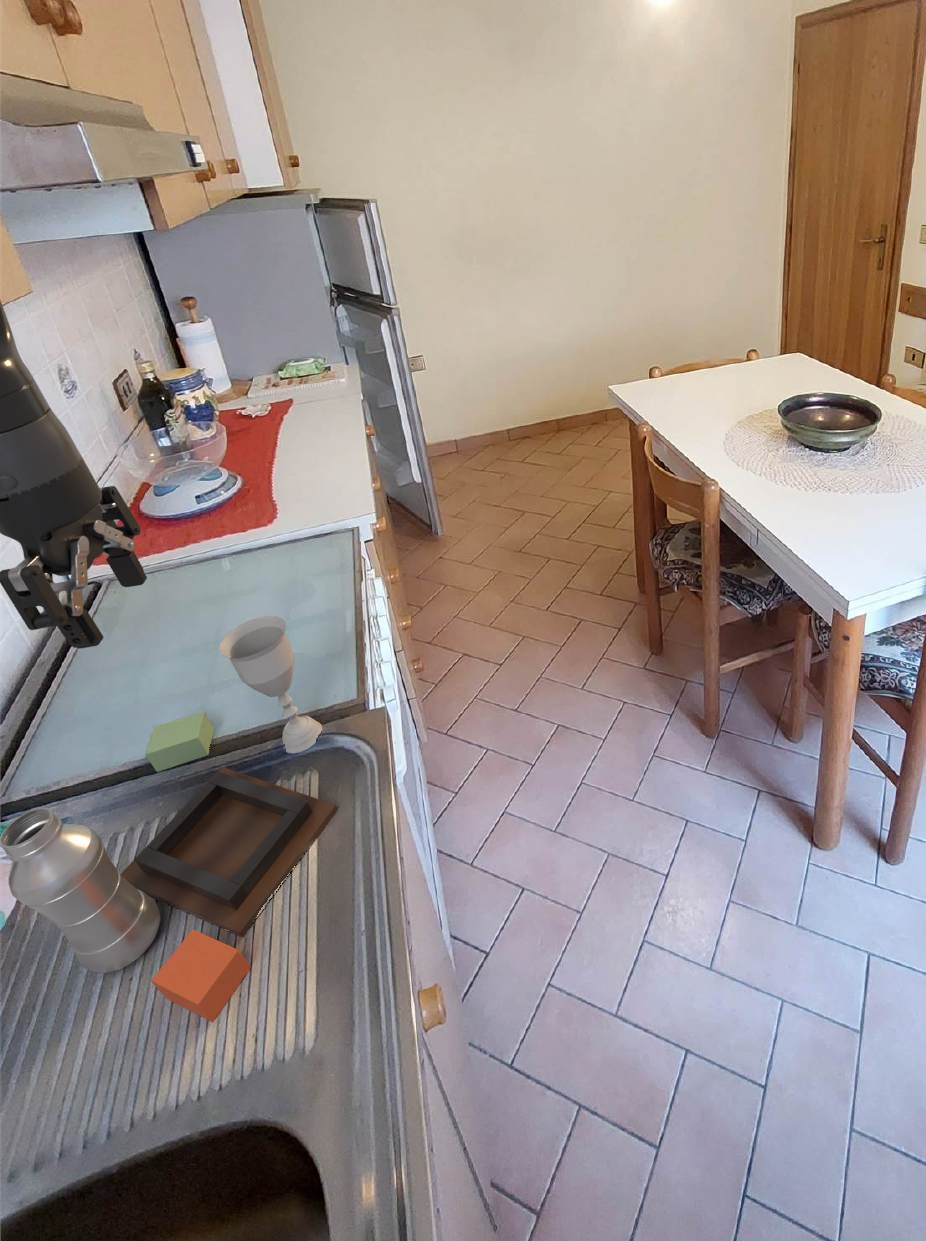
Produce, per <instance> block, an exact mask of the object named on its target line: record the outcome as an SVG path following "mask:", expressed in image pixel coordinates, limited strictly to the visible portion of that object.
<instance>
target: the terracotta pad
mask: <svg viewBox="0 0 926 1241" xmlns="http://www.w3.org/2000/svg"><path fill="white" fill-rule="evenodd" d="M182 940H183V941H181V943H180V944H179V945H178V947H177V948H176V949H175V950H174V952H173V953H172V954H171V955H170V956H169V957H168V958H167V960H166V962H165V963H164V964H163V965H162V966H161V968H160V969H159V970H158V971H157V973H156V974H155V975H154V976H153V977H152V979H151V981H150V982H151V983H152V984H153V986H154V987H155V988H156V989H157V990H158V991H159V992H160V993H161V994H162V995H163V997H164V998H165V999H167V1001H170V1002H172V1003H174V1004H176V1005H178V1006H179V1007H182V1008H184V1009H185V1010H188V1011H190V1012H192V1013H194V1014H195V1015H198V1016H199V1017H200V1018H204V1019H205V1020H207V1021H209V1022H210V1023H211V1022H212V1023H213V1022H214V1021H215V1020H216V1018H217V1017H218V1016H219V1014H220V1013H221V1012H222V1010H223V1008H224V1007H225V1006H226V1004H227V1003H228V1001H229V1000H230V999H231V997H232V996H233V994H234V993H235V992H236V990H237V989H238V988H239V986H240V985H241V983H242V982H243V980H244V979H243V977H244V976H245V975H246V974H247V975H248V973H249V972H250V971H251V969H252V967H251V966H250V964H249V963H248V961H247V960H246V959H245V957H244V956H243V955H242V953H241V952H240V951H239V949H237V948H235V947H233V946H230V945H229V944H227V943H224V942H222V941H220V940H217V939H215V938H214V937H211V936H209V935H207V934H205V933H202V932H200V931H197V930H195V929H191V931H190V932H189V933H188V934H187V935H186V937H185V938H184V939H182ZM250 968H251V969H250ZM248 971H249V972H248ZM247 975H246V976H247ZM246 976H245V977H246ZM245 977H244V978H245ZM242 979H243V980H242ZM241 981H242V982H241ZM240 982H241V983H240ZM234 991H235V992H234Z"/></svg>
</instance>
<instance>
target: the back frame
mask: <svg viewBox="0 0 926 1241" xmlns="http://www.w3.org/2000/svg"><path fill="white" fill-rule="evenodd" d="M337 812H338V807H337V805H336V804H335V803H331V802H328V801H325V800H323V799H320V798H316V797H312V796H310V795H308V794H304V793H301V792H298V791H295V790H293V789H289V788H287V787H283V786H281V785H279V784H278V785H277V784H274V783H271V782H269V781H266V780H263V779H260V778H256V777H254V776H251V775H248V774H245V773H242V772H239V771H236V770H233V769H229V768H227V767H223V766H221V767H220V768H219V770H217V771H215V773H214V774H213V775H212V776H211V777H210V778H209V780H207V782H206V783H205V784H204V785H203V786H202V787H201V788H200V789H199V790H198V791H197V792H196V793H195V795H193V796H192V798H191V799H190V800H189V801H188V802H187V803H186V804H185V805H184V806H183V807H182V808H181V809H180V810H179V811H178V813H176V814H175V815H174V816H173V818H172V819H171V820H169V821H168V823H167V824H165V826H164V827H163V828H162V829H161V830H160V831H159V832H158V833H157V835H155V836H154V837H153V839H152V840H151V841H149V843H148V844H147V845H146V846H145V847H144V848H143V849H142V850H141V851H140V852H139V854H137V856H136V857H135V858H133V860H132V862H130V863H129V864H128V865H127V866H126V867H125V869H124V870H123V871H122V872H121V873H120V874H121V876H122V877H123V878H125V879H126V880H127V881H128V882H129V883H130V884H131V885H133V886H134V887H135V888H136V889H138V890H140V891H142V892H144V893H145V894H147V895H148V896H149V897H151V898H152V899H154V900H157V901H159V902H161V901H162V902H161V903H163V904H166V905H168V904H169V905H168V906H170V905H171V907H173V906H174V907H173V908H175V907H176V908H175V909H177V908H179V909H181V910H180V911H182V910H183V911H182V912H184V911H185V912H184V913H186V912H187V913H186V914H188V913H190V914H189V915H191V914H192V915H191V916H193V915H194V916H193V917H195V916H196V917H195V918H197V917H198V918H197V919H200V920H202V919H203V920H202V921H204V922H206V921H207V922H206V923H209V924H211V925H212V926H215V925H216V926H215V927H217V928H220V927H221V928H220V929H222V928H223V929H222V930H224V929H226V930H225V931H227V930H229V931H230V932H229V931H228V932H229V933H231V932H233V933H235V934H234V935H235V936H238V937H240V938H244V937H245V936H246V935H247V933H248V932H247V931H249V930H250V929H249V927H250V926H251V925H252V923H253V921H254V920H255V918H256V917H257V915H258V913H259V911H260V910H261V908H262V907H263V905H264V904H265V903H266V902H267V900H268V898H269V897H270V896H271V894H273V892H274V891H275V890H276V889H277V888H278V886H279V885H280V884H281V882H282V881H283V880H284V879H285V878H286V877H287V875H288V874H289V873H290V872H291V870H292V868H294V866H295V865H296V864H297V863H298V862H299V863H300V862H301V860H302V859H301V858H303V857H304V856H305V855H304V853H305V852H306V851H307V850H309V849H310V848H311V847H312V846H313V844H314V843H315V841H316V840H317V839H318V837H319V836H320V835H321V833H322V832H323V830H324V829H325V828H326V827H327V825H328V824H329V822H330V821H331V820H332V819H333V817H334V816H335V814H336V813H337ZM310 846H311V847H310ZM309 847H310V848H309ZM307 852H308V851H307ZM307 852H306V853H307ZM306 853H305V854H306ZM303 855H304V856H303ZM302 856H303V857H302ZM300 859H301V860H300ZM299 863H298V864H299ZM298 864H297V865H298ZM294 869H295V868H294ZM291 873H292V872H291ZM179 909H178V910H179ZM253 924H254V923H253ZM252 926H253V925H252ZM252 926H251V927H252ZM251 927H250V928H251ZM248 929H249V930H248ZM246 932H247V933H246ZM233 933H232V934H233ZM244 935H245V936H244ZM243 936H244V937H243Z"/></svg>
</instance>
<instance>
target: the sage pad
mask: <svg viewBox="0 0 926 1241" xmlns="http://www.w3.org/2000/svg"><path fill="white" fill-rule="evenodd" d="M214 732H215V728H214V726H213V724H212V722H211V720H210V718H209V717H208V715H207V714H206V712H205V711H204V710H202V711H200V712H197V713H194V714H191V715H187V716H184V717H180V718H177V719H173V720H171V721H168V722H165V723H162V724H158V725H156V726H153V727H152V731H151V734H150V738H149V741H148V744H147V747H146V750H145V754H144V755H145V757H146V758H147V760H148V762H149V763H150V764H151V766H152V768H154V770H155V772H156V773H159V772H162V771H165V770H167V769H171V768H174V767H177V766H179V765H183V764H186V763H188V762H192V761H196V760H198V759H201V758H204V757H207V756H209V754H210V750H209V749H211V746H210V744H211V745H212V740H213V736H214ZM209 747H210V748H209Z"/></svg>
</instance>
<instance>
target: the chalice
mask: <svg viewBox="0 0 926 1241" xmlns="http://www.w3.org/2000/svg"><path fill="white" fill-rule="evenodd" d="M286 628H287V623H286V621H285V619H283V618H282V617H279V616H277V615H266V616H259V617H256V618H253V619H250V620H247V621H245V622H243V623H241V624H239V625H237V626H235V628H233V629H232V630H230V631H229V632H228V633H227V634H226V635H225V636H224V637H223V638H222V640H221V642H220V644H219V652H220V654H221V656H223V657H224V658H227V659H229V661H230V662H231V664H232V666H233V668H234V670H235V672H236V673H237V675H238V677H239V679H240V680H241V682H242V683H243V684H245V685H246V686H248V687H249V688H250V689H252V690H254V691H256V692H258V693H261V694H262V695H265V696H267V697H269V698H277V699H278V703H277V705H278V707H282V708H283V711H282V714H281V715H282V717H284V718H287V719H288V720H289V721H288V722H287V723H286V724H285V725H284V728H283V730H282V736H281V739H282V741H283V744H285V748H286V753H288V754H299V753H302V752H304V751H306V750H308V749H309V748H311V747H312V746H314V745H315V744H316V743H317V742H316V738H317V737H318V735H319V734H320V733H321V731H322V732H323V730H324V729H323V725H322V724H321V723H320V722H319V721H317V720H315V719H314V718H312V717H311V716H309V715H297V712H298V706H296V705H292V701H293V697H292V696H289V695H288V694H287V693H286V692H288V691H289V689H290V688H291V686H292V681H293V678H294V672H295V652H294V650H293V647H292V645H291V643H290V641H289V639H288V637H287V634H286ZM282 741H281V742H282Z"/></svg>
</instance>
